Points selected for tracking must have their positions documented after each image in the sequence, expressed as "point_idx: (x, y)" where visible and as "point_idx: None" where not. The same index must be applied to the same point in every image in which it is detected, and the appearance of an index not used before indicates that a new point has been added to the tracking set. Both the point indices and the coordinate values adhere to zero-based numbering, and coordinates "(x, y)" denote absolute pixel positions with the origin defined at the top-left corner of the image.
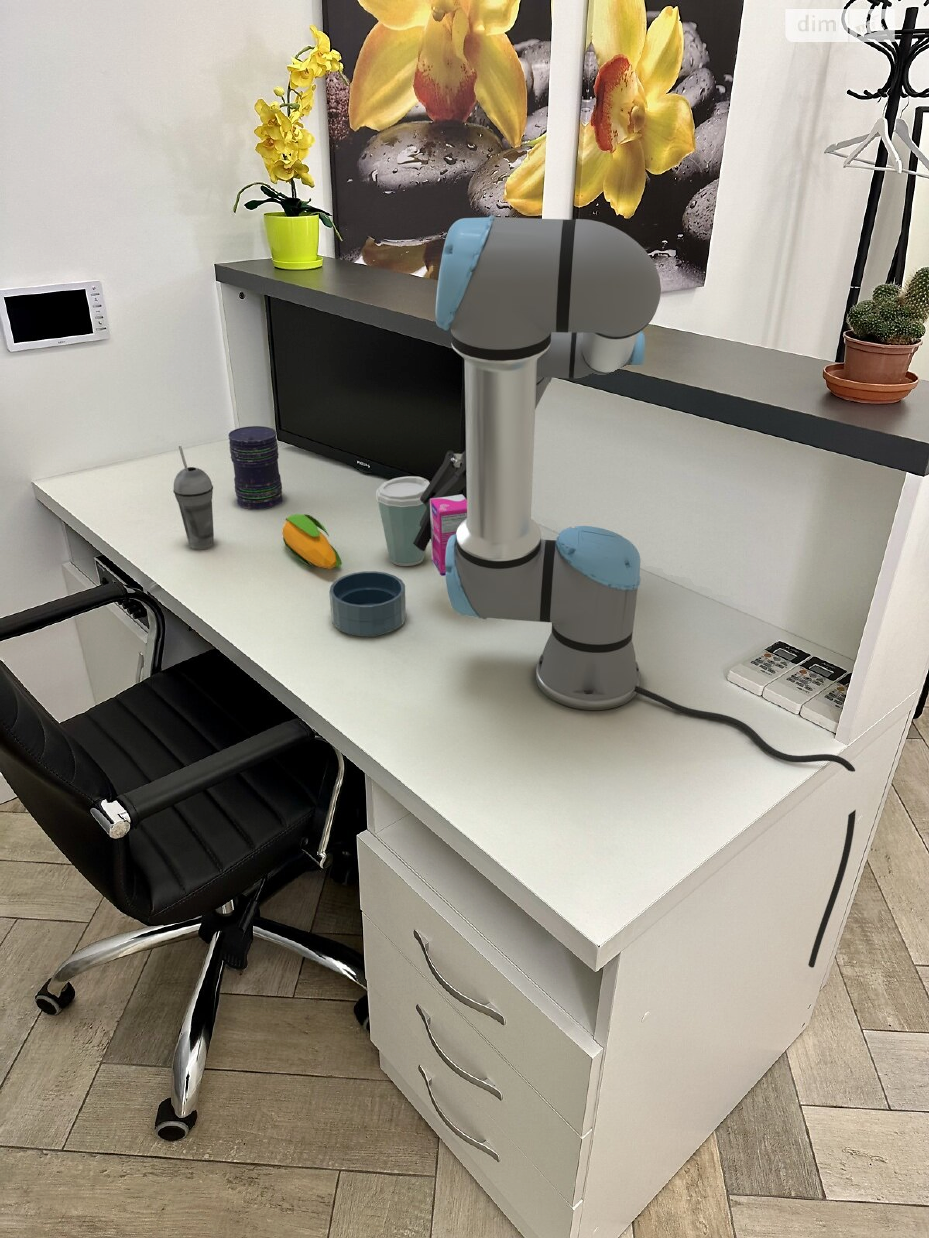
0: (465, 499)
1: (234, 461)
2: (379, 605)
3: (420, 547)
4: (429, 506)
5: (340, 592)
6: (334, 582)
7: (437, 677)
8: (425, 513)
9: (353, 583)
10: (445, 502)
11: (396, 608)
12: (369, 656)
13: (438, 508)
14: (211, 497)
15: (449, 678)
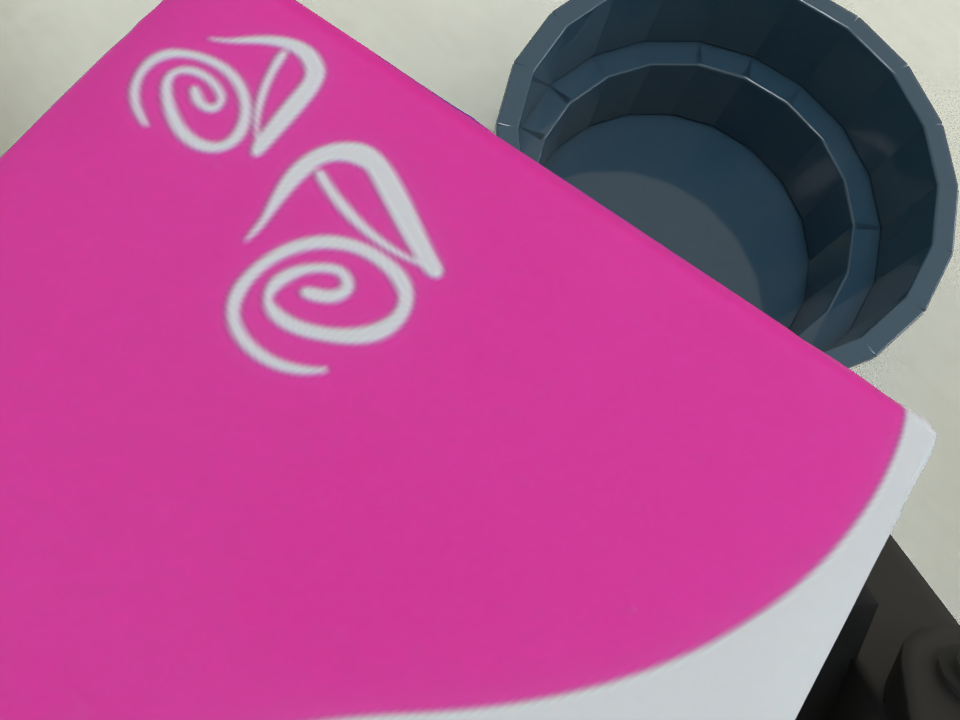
0: None
1: None
2: (526, 46)
3: None
4: (944, 640)
5: (879, 179)
6: (927, 104)
7: (62, 52)
8: (902, 580)
9: (896, 261)
10: (439, 455)
11: None
12: (431, 24)
13: (359, 73)
14: None
15: (6, 73)
